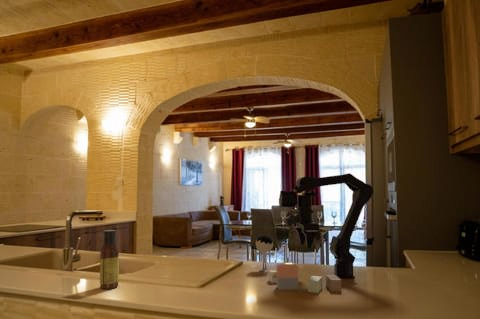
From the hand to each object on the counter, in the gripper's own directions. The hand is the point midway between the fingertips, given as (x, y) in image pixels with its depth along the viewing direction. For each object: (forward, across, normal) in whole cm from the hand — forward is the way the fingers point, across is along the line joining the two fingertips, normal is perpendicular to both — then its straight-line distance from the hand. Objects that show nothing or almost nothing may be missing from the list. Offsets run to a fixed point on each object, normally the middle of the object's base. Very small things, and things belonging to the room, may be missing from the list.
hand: (305, 246), depth 140 cm
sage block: (+12, +18, -2) cm, 22 cm away
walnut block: (+12, +17, +5) cm, 22 cm away
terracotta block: (+8, +15, -11) cm, 20 cm away
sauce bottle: (+12, +9, -74) cm, 76 cm away
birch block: (+12, +5, -12) cm, 18 cm away
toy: (+12, -16, -14) cm, 25 cm away
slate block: (+12, +15, -11) cm, 22 cm away
